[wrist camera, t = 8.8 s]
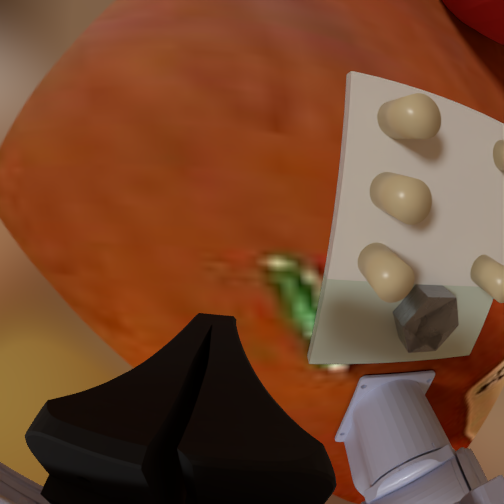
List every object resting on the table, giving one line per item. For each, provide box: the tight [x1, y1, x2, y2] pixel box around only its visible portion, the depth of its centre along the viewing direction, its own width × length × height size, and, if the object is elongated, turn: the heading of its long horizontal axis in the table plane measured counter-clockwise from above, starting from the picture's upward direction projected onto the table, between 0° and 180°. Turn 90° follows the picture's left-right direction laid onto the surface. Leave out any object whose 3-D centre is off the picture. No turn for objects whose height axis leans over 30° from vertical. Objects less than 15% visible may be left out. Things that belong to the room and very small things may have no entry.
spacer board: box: [307, 71, 504, 364], centre depth 17 cm, size 20×16×4 cm
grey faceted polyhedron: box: [393, 284, 459, 353], centre depth 19 cm, size 5×4×2 cm
